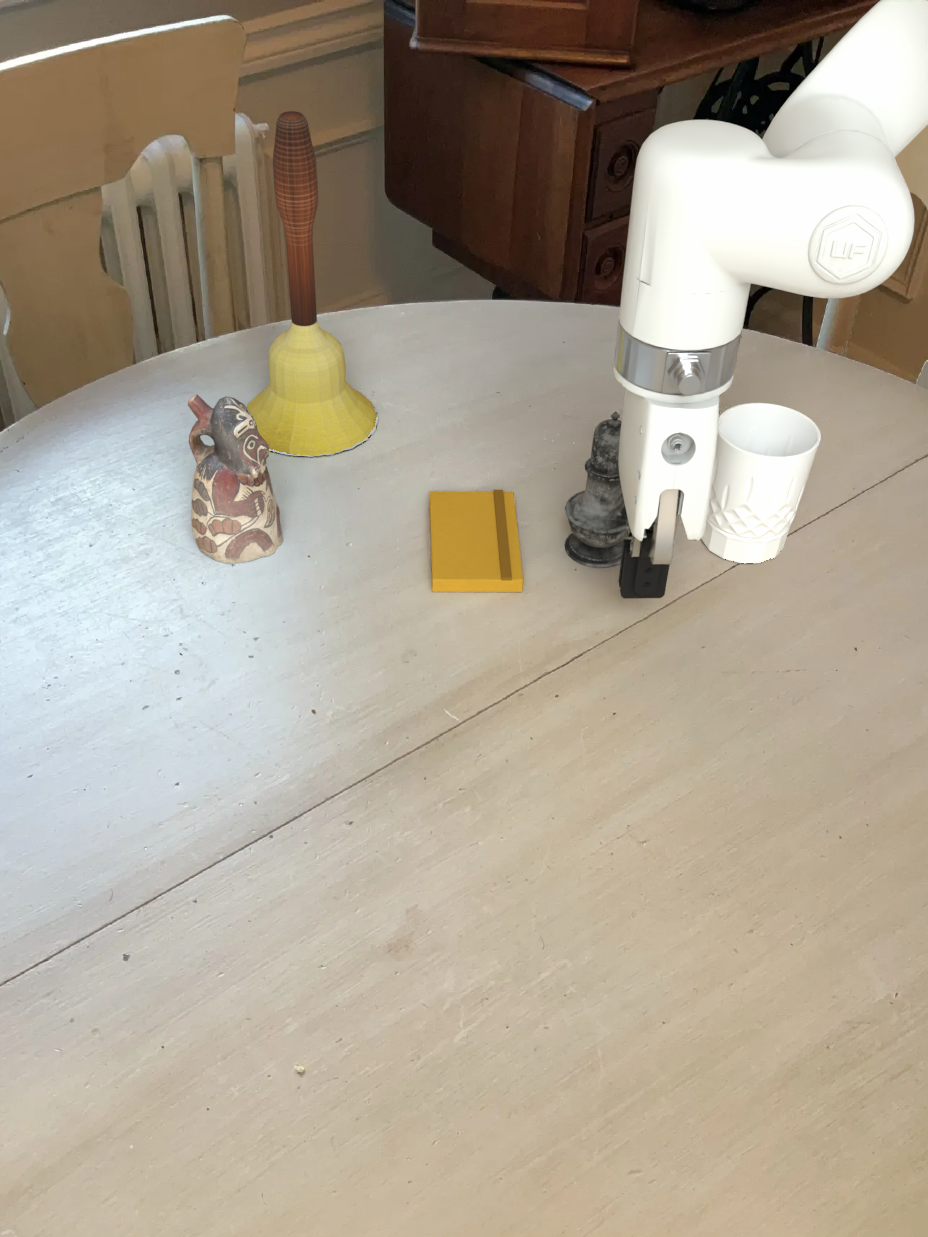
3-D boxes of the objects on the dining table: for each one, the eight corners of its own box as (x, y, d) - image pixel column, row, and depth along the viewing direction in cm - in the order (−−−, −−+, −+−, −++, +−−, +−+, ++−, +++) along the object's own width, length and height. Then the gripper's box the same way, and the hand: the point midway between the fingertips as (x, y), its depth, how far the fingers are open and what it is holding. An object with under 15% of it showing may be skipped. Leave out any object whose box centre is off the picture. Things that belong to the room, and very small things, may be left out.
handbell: (393, 395, 117) (392, 96, 98) (357, 466, 109) (347, 155, 90) (266, 377, 118) (240, 78, 99) (222, 445, 110) (184, 136, 92)
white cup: (721, 501, 107) (745, 391, 99) (806, 535, 104) (837, 424, 96) (676, 545, 102) (698, 434, 95) (764, 581, 100) (793, 469, 92)
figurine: (260, 572, 99) (246, 433, 90) (178, 552, 100) (156, 413, 91) (296, 522, 103) (286, 385, 94) (217, 504, 105) (200, 367, 96)
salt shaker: (553, 529, 103) (568, 393, 94) (622, 524, 104) (643, 388, 95) (570, 572, 100) (586, 435, 91) (642, 566, 100) (665, 429, 91)
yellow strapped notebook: (429, 503, 106) (429, 488, 104) (512, 504, 106) (513, 489, 105) (432, 592, 98) (432, 577, 97) (522, 592, 98) (523, 577, 97)
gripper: (758, 413, 73) (708, 657, 87) (716, 294, 83) (677, 531, 97) (630, 414, 73) (600, 659, 87) (603, 295, 83) (579, 532, 97)
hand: (640, 591), depth 92 cm, fingers closed
